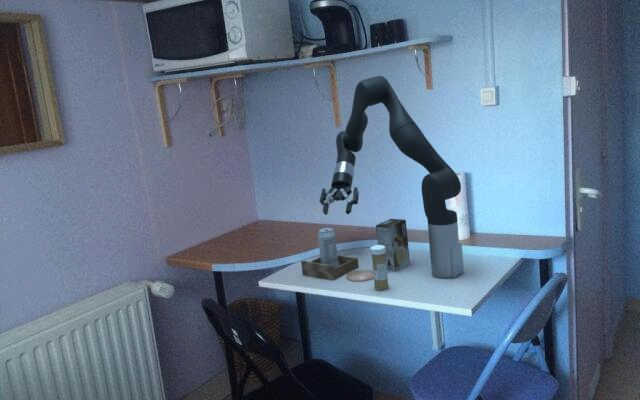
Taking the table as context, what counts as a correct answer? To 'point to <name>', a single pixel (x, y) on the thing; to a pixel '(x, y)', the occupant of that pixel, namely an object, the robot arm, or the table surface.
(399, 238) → the coffee box
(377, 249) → the sprinkles bottle
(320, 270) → the brown square open frame
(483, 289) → the table surface
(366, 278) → the terracotta saucer
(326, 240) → the energy drink can
